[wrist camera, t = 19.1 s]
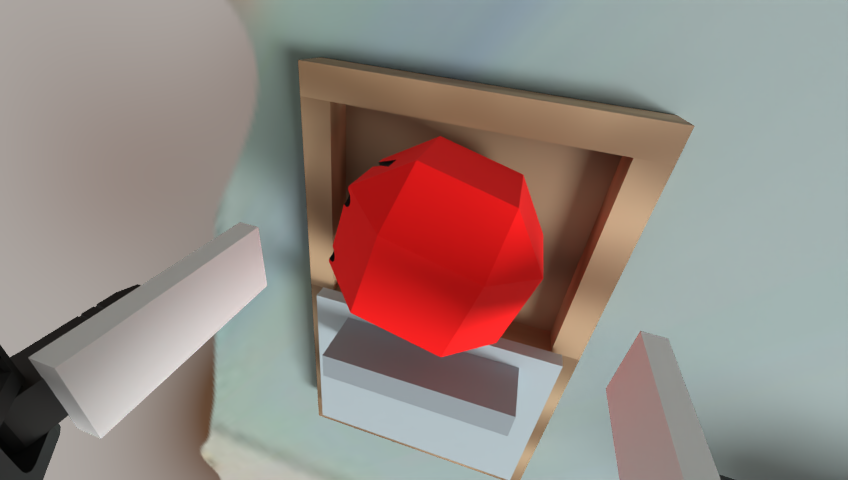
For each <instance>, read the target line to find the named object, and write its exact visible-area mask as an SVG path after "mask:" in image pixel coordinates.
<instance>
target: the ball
mask: <svg viewBox="0 0 848 480" xmlns="http://www.w3.org/2000/svg"><path fill="white" fill-rule="evenodd" d="M379 165H380V166H374V167H372V168H371V169H369V170H368V171H367V172H366V173H364V174H363V175H362V176H360V177H359V178H358V179H357V180H355V181H354V182H353V183H352V184H350V185H349V187H348V191H349V197H348V199H347V201H346V202H345V203H344V206H343V209H342V213H341V217H340V221H339V224H338V228H337V232H336V235H335V239H334V243H333V249H334V252H333V254H332V255H331V257H330V258H329V263H330V265H331V267H332V270H333V272H334V275H335V277H336V279H337V282H338V284H339V287H340V289H341V291H342V294H343V296H344V299H345V301H346V303H347V306H348V308H349V311H350V313H352V314H354V315H356V316H358V317H360V318H362V319H364V320H366V321H368V322H370V323H372V324H374V325H376V326H378V327H380V328H382V329H384V330H386V331H388V332H390V333H392V334H394V335H396V336H398V337H400V338H402V339H404V340H407V341H409V342H411V343H413V344H415V345H417V346H419V347H421V348H423V349H425V350H427V351H429V352H431V353H433V354H435V355H437V356H439V357H444V356H448V355H452V354H456V353H460V352H463V351H467V350H471V349H475V348H479V347H482V346H486V345H490V344H494V343H497V341H498V340H499V339H500V337H501V336H502V335H503V333H504V332H505V331H506V329H507V328H508V326H509V325H510V324H511V322H512V321H513V320H514V318H515V317H516V315H517V314H518V313H519V311H520V310H521V309H522V307H523V306H524V305H525V303H526V302H527V300H528V299H529V298H530V296H531V295H532V294H533V292H534V291H535V290H536V288H537V287H538V285H539V284H540V283H541V281H542V280H543V232H542V229H541V226H540V223H539V220H538V217H537V214H536V211H535V208H534V205H533V202H532V199H531V196H530V193H529V190H528V187H527V184H526V181H525V178H524V175H523V174H521V173H519V172H517V171H515V170H513V169H510V168H508V167H506V166H504V165H502V164H500V163H497V162H495V161H493V160H491V159H489V158H487V157H484V156H482V155H480V154H478V153H476V152H474V151H472V150H469V149H467V148H465V147H463V146H461V145H459V144H456V143H454V142H452V141H450V140H448V139H446V138H444V137H441V136H439V137H437V138H434V139H432V140H429V141H426V142H424V143H421V144H419V145H416V146H414V147H411V148H409V149H406V150H404V151H401V152H399V153H396V154H394V155H391V156H389V157H386V158H384V159H382V160H381V161H379Z"/></svg>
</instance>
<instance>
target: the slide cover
mask: <svg viewBox="0 0 848 480" xmlns="http://www.w3.org/2000/svg"><path fill="white" fill-rule="evenodd" d="M317 313H318V333H319V353H320V373H321V393H322V413H323V415H324V416H327V417H330V418H333V419H336V420H339V421H341V422H344V423H347V424H350V425H353V426H356V427H359V428H361V429H364V430H367V431H370V432H373V433H376V434H378V435H381V436H384V437H387V438H390V439H393V440H396V441H398V442H401V443H404V444H407V445H410V446H413V447H415V448H418V449H421V450H424V451H427V452H430V453H433V454H435V455H438V456H441V457H444V458H447V459H450V460H452V461H455V462H458V463H461V464H464V465H467V466H470V467H472V468H475V469H478V470H481V471H484V472H487V473H489V474H492V475H495V476H498V477H501V478H504V479H506V480H510V479H511V477H512V475H513V473H514V471H515V468H516V466H517V464H518V462H519V460H520V458H521V455H522V453H523V451H524V449H525V447H526V445H527V443H528V440H529V438H530V436H531V434H532V432H533V430H534V428H535V425H536V423H537V421H538V419H539V417H540V415H541V412H542V410H543V408H544V406H545V404H546V402H547V400H548V397H549V395H550V393H551V391H552V389H553V387H554V384H555V382H556V380H557V378H558V376H559V374H560V372H561V369H562V367H563V361H562V355H560V354H557V353H553V352H550V351H546V350H543V349H539V348H535V347H532V346H528V345H525V344H521V343H518V342H514V341H511V340H507V339H504V338H500V339H499V340H498V341H497V343H494V344H490V345H486V346H482V347H479V348H475V349H471V350H467V351H463V352H460V353H456V354H452V355H448V356H444V357H439V356H437V355H435V354H433V353H431V352H429V351H427V350H425V349H423V348H421V347H419V346H417V345H415V344H413V343H411V342H409V341H407V340H404V339H402V338H400V337H398V336H396V335H394V334H392V333H390V332H388V331H386V330H384V329H382V328H380V327H378V326H376V325H374V324H372V323H370V322H368V321H366V320H364V319H362V318H360V317H358V316H356V315H354V314H352V313H350V311H349V308H348V306H347V303H346V301H345V299H344V296H343V294H342V292H338V291H335V290H331V289H328V288H324V287H323V288H322V290H321V291H320V292H319V293H318V294H317Z"/></svg>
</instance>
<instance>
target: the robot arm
mask: <svg viewBox="0 0 848 480" xmlns="http://www.w3.org/2000/svg"><path fill="white" fill-rule="evenodd" d="M266 286H267V281H266V275H265V268H264V262H263V255H262V249H261V242H260V236H259V229H258V227H256V226H252V225H249V224H245V223H241V222H240V223H238V224H237V225H235V226H233V227H232V228H230V229H229V230H227V231H226V232H224V233H222V234H221V235H219V236H218V237H216V238H215V239H213V240H211V241H210V242H208V243H207V244H206V245H204V246H202V247H201V248H199V249H197V250H196V251H194V252H193V253H191V254H190V255H188V256H186V257H185V258H183V259H182V260H180V261H179V262H177V263H175V264H174V265H172V266H171V267H169V268H168V269H166V270H165V271H163V272H161V273H160V274H158V275H157V276H155V277H154V278H152V279H150V280H149V281H147V282H146V283H144V284H143V285H135V286H132V287H130V288H127V289H124V290H122V291H119V292H116V293H115V294H113V295H112V296H110V297H108V298H107V299H105V300H103V301H102V302H100V303H98V304H97V306H96V307H92V308H90V309H89V310H87V311H86V312H84V313H82V315H81V316H80V317H78V316H77V317H76V318H74V319H72V320H71V321H69V322H68V323H66V324H64V325H63V326H61V327H59V328H58V329H57V330H55V331H53V332H51V333H50V334H48V335H47V336H45V337H43V338H42V339H40V340H39V341H37V342H35V343H34V344H32V345H30V346H29V347H27V348H25V349H24V350H22V351H21V352H19V353H17V354H15V355H13V356H12V357H10V358H9V356H8V355H7V354H6V352H5V351H4V349H3V348H2V347H1V345H0V480H43V478H44V475H45V473H46V470H47V467H48V465H49V462H50V459H51V456H52V454H53V451H54V449H55V446H56V443H57V441H58V438H59V435H60V425H59V424H58V423H59V422H60V421H61V420H63V419H64V418H65V417H67V416H69V417H70V418H71V420H72V421H73V422H74V424H75V426H76V427H77V428H78V429H80V430H82V431H84V432H86V433H89V434H91V435H93V436H96V437H98V438H100V439H101V438H102V437H103V436H104V435H106V434H107V433H108V432H109V431H110V430H111V429H112V428H113V427H114V426H115V425H116V424H118V423H119V421H121V420H122V419H123V418H124V417H125V416H126V415H127V414H128V413H129V412H131V411H132V410H133V409H134V408H135V407H136V406H137V405H138V404H139V403H140V402H141V401H142V400H143V399H145V398H146V397H147V396H148V395H149V394H150V393H151V392H152V391H153V390H154V389H155V388H156V387H158V386H159V385H160V384H161V383H162V382H163V381H164V380H165V379H166V378H167V377H168V376H170V375H171V374H172V373H173V372H174V371H175V370H176V369H177V368H178V367H179V366H180V365H182V364H183V363H184V362H185V361H186V360H187V359H188V358H189V357H190V356H191V355H192V354H193V353H195V352H196V350H198V349H199V348H200V347H201V346H202V345H203V344H204V343H205V342H206V341H208V340H209V339H210V338H211V337H212V336H213V335H214V334H215V333H216V332H217V331H218V330H219V329H221V328H222V327H223V326H224V325H225V324H226V323H227V322H228V321H229V320H230V319H231V318H233V317H234V316H235V315H236V314H237V313H238V312H239V311H240V310H241V309H242V308H243V307H244V306H246V305H247V304H248V303H249V302H250V301H251V300H252V299H253V298H254V297H255V296H256V295H257V294H259V293H260V292H261V291H262V290H263V289H264V288H265V287H266ZM606 393H607V399H608V406H609V413H610V419H611V426H612V433H613V439H614V446H615V453H616V459H617V466H618V472H619V479H620V480H734V479H731V478H728V477H725V476H722V475H719V474H718V471H717V468H716V466H715V463H714V460H713V458H712V455H711V452H710V449H709V447H708V444H707V441H706V439H705V436H704V433H703V431H702V428H701V425H700V423H699V420H698V417H697V415H696V412H695V409H694V407H693V404H692V401H691V399H690V396H689V393H688V390H687V388H686V385H685V382H684V380H683V377H682V374H681V372H680V369H679V366H678V364H677V361H676V358H675V356H674V353H673V350H672V348H671V345H670V342H669V339H668V338H664V337H661V336H657V335H653V334H650V333H646V332H642V331H640V333H639V334H638V336H637V338H636V339H635V341H634V343H633V344H632V346H631V348H630V349H629V351H628V353H627V354H626V356H625V358H624V359H623V361H622V363H621V364H620V366H619V368H618V369H617V371H616V373H615V374H614V376H613V378H612V379H611V381H610V383H609V384H608V386H607V388H606Z"/></svg>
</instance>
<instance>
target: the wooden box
mask: <svg viewBox="0 0 848 480" xmlns="http://www.w3.org/2000/svg"><path fill="white" fill-rule="evenodd" d="M298 67H299V84H300V101H301V118H302V135H303V152H304V169H305V186H306V203H307V220H308V237H309V254H310V271H311V287H312V304H313V321H314V338H315V355H316V372H317V389H318V406H319V415H320V416H323V417H325V418H328V419H331V420H334V421H337V422H340V423H342V424H345V425H348V426H351V427H354V428H357V429H359V430H362V431H365V432H368V433H371V434H374V435H377V436H379V437H382V438H385V439H388V440H391V441H394V442H396V443H399V444H402V445H405V446H408V447H411V448H413V449H416V450H419V451H422V452H425V453H428V454H430V455H433V456H436V457H439V458H442V459H445V460H447V461H450V462H453V463H456V464H459V465H462V466H464V467H467V468H470V469H473V470H476V471H479V472H481V473H484V474H487V475H490V476H493V477H496V478H499V479H501V480H506V479H504V478H501V477H498V476H495V475H492V474H489V473H487V472H484V471H481V470H478V469H475V468H472V467H470V466H467V465H464V464H461V463H458V462H455V461H452V460H450V459H447V458H444V457H441V456H438V455H435V454H433V453H430V452H427V451H424V450H421V449H418V448H415V447H413V446H410V445H407V444H404V443H401V442H398V441H396V440H393V439H390V438H387V437H384V436H381V435H378V434H376V433H373V432H370V431H367V430H364V429H361V428H359V427H356V426H353V425H350V424H347V423H344V422H341V421H339V420H336V419H333V418H330V417H327V416H324V415H323V413H322V393H321V373H320V353H319V333H318V313H317V294H318V293H319V292H320V291H321V290H322V288H323V287H324V288H328V289H331V290H335V291H338V292H342V291H341V289H340V287H339V284H338V282H337V279H336V277H335V275H334V272H333V270H332V267H331V265H330V263H329V258H330V257H331V255H332V254H333V252H334V249H333V243H334V239H335V235H336V232H337V228H338V224H339V221H340V217H341V213H342V209H343V206H344V203H345V202H346V201H347V199H348V197H349V191H348V187H349V185H350V184H352V183H353V182H354V181H355V180H357V179H358V178H359V177H360V176H362V175H363V174H364V173H366V172H367V171H368V170H369V169H371V168H372V167H374V166H380V165H379V161H381V160H382V159H384V158H386V157H389V156H391V155H394V154H396V153H399V152H401V151H404V150H406V149H409V148H411V147H414V146H416V145H419V144H421V143H424V142H426V141H429V140H432V139H434V138H437V137H439V136H441V137H444V138H446V139H448V140H450V141H452V142H454V143H456V144H459V145H461V146H463V147H465V148H467V149H469V150H472V151H474V152H476V153H478V154H480V155H482V156H484V157H487V158H489V159H491V160H493V161H495V162H497V163H500V164H502V165H504V166H506V167H508V168H510V169H513V170H515V171H517V172H519V173H521V174H523V175H524V178H525V181H526V184H527V187H528V190H529V193H530V196H531V199H532V202H533V205H534V208H535V211H536V214H537V217H538V220H539V223H540V226H541V229H542V232H543V280H542V281H541V283H540V284H539V285H538V287H537V288H536V290H535V291H534V292H533V294H532V295H531V296H530V298H529V299H528V300H527V302H526V303H525V305H524V306H523V307H522V309H521V310H520V311H519V313H518V314H517V315H516V317H515V318H514V320H513V321H512V322H511V324H510V325H509V326H508V328H507V329H506V331H505V332H504V333H503V335H502V336H501V337H500V338H504V339H507V340H511V341H514V342H518V343H521V344H525V345H528V346H532V347H535V348H539V349H543V350H546V351H550V352H553V353H557V354H560V355H562V361H563V367H562V369H561V372H560V374H559V376H558V378H557V380H556V382H555V384H554V387H553V389H552V391H551V393H550V395H549V397H548V400H547V402H546V404H545V406H544V408H543V410H542V412H541V415H540V417H539V419H538V421H537V423H536V425H535V428H534V430H533V432H532V434H531V436H530V438H529V440H528V443H527V445H526V447H525V449H524V451H523V453H522V455H521V458H520V460H519V462H518V464H517V466H516V468H515V471H514V473H513V475H512V477H511V479H510V480H520V479H521V477H522V475H523V473H524V471H525V469H526V467H527V465H528V463H529V461H530V459H531V457H532V455H533V453H534V451H535V449H536V447H537V445H538V443H539V441H540V439H541V437H542V434H543V432H544V430H545V428H546V426H547V424H548V422H549V420H550V418H551V416H552V414H553V412H554V410H555V408H556V406H557V404H558V402H559V400H560V398H561V396H562V394H563V392H564V390H565V388H566V386H567V384H568V382H569V380H570V378H571V376H572V374H573V372H574V370H575V367H576V365H577V363H578V361H579V359H580V357H581V355H582V353H583V351H584V349H585V347H586V345H587V343H588V341H589V339H590V337H591V335H592V333H593V331H594V329H595V327H596V325H597V323H598V321H599V319H600V317H601V315H602V313H603V311H604V309H605V307H606V305H607V303H608V301H609V298H610V296H611V294H612V292H613V290H614V288H615V286H616V284H617V282H618V280H619V278H620V276H621V274H622V272H623V270H624V268H625V266H626V264H627V262H628V260H629V258H630V256H631V254H632V252H633V250H634V248H635V246H636V244H637V242H638V240H639V238H640V236H641V234H642V232H643V229H644V227H645V225H646V223H647V221H648V219H649V217H650V215H651V213H652V211H653V209H654V207H655V205H656V203H657V201H658V199H659V197H660V195H661V193H662V191H663V189H664V187H665V185H666V183H667V181H668V179H669V177H670V175H671V173H672V171H673V169H674V167H675V165H676V162H677V160H678V158H679V156H680V154H681V152H682V150H683V148H684V146H685V144H686V142H687V140H688V138H689V136H690V134H691V132H692V130H693V128H694V125H692V124H690V123H689V122H687V121H685V120H684V119H682V118H681V117H679V116H677V115H672V114H665V113H659V112H653V111H647V110H641V109H635V108H629V107H623V106H616V105H610V104H604V103H598V102H592V101H586V100H580V99H574V98H567V97H561V96H555V95H549V94H543V93H537V92H531V91H525V90H518V89H512V88H506V87H500V86H494V85H488V84H482V83H476V82H469V81H463V80H457V79H451V78H445V77H439V76H433V75H427V74H420V73H414V72H408V71H402V70H396V69H390V68H384V67H378V66H371V65H365V64H359V63H353V62H347V61H341V60H335V59H329V58H322V57H319V58H311V59H302V60H298Z"/></svg>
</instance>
